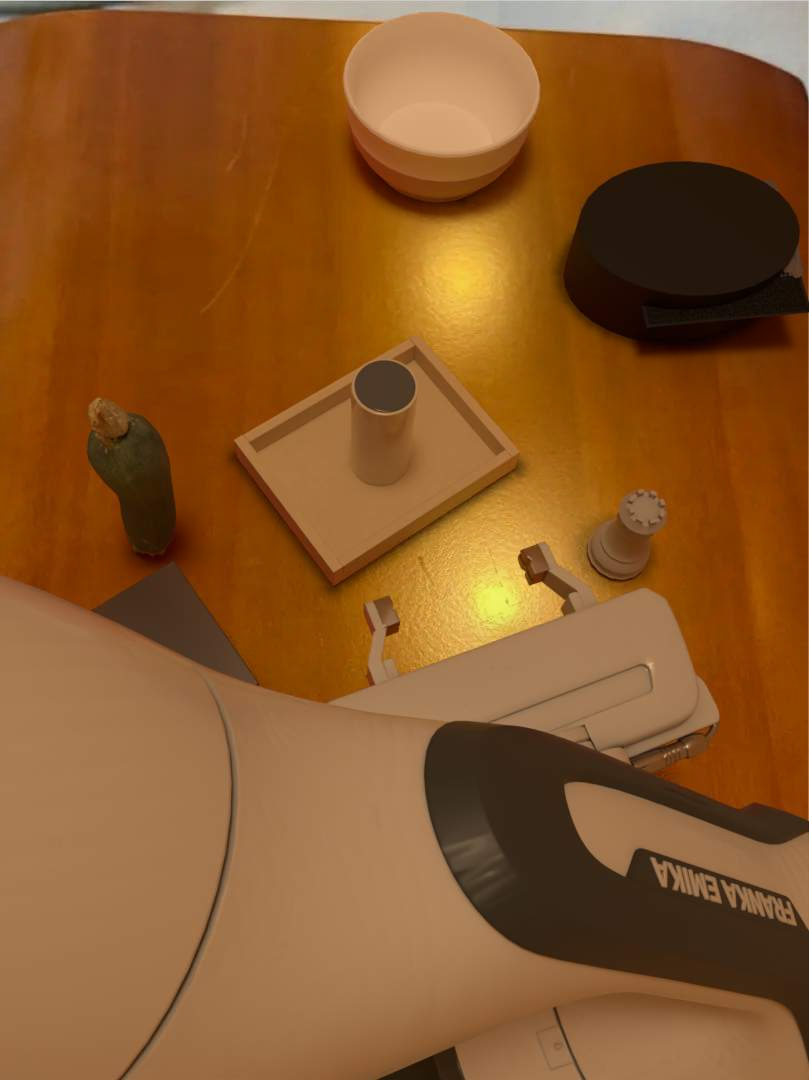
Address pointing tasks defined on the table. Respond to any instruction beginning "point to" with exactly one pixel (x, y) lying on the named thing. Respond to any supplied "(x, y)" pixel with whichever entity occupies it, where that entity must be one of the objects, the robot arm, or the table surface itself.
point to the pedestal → (176, 621)
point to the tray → (353, 505)
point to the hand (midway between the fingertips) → (454, 575)
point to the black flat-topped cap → (685, 253)
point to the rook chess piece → (627, 535)
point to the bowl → (439, 103)
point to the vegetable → (134, 473)
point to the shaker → (382, 420)
